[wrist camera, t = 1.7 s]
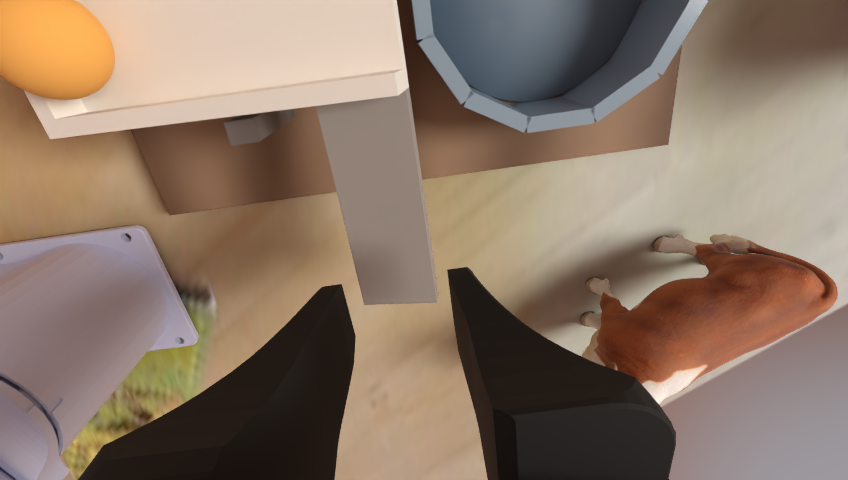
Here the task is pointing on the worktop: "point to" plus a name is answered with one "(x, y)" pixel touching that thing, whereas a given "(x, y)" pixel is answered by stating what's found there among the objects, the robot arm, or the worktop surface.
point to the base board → (434, 126)
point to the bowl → (550, 54)
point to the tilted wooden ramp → (281, 105)
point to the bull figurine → (706, 313)
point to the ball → (54, 48)
